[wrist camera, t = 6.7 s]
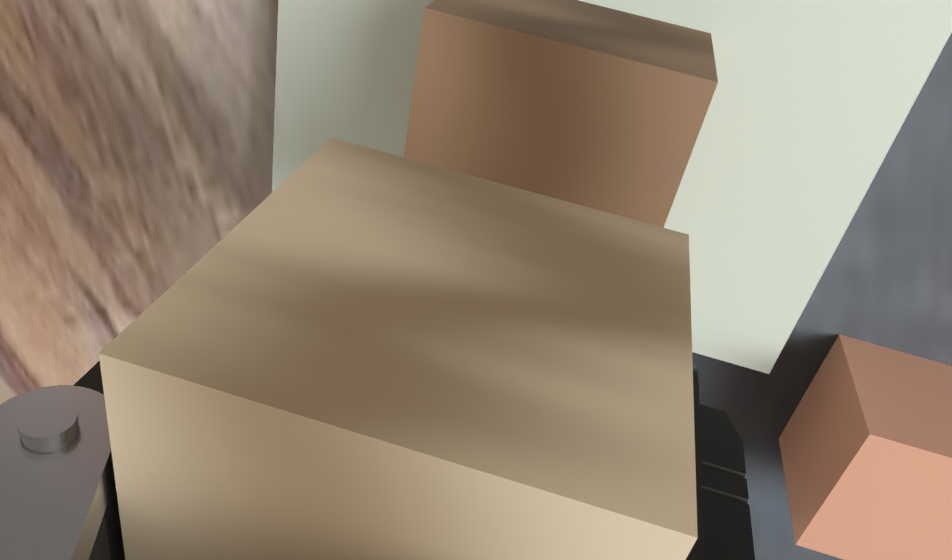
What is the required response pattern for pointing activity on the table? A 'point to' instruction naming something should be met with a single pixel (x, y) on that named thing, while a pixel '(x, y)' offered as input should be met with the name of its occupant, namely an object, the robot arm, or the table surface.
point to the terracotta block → (872, 456)
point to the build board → (718, 143)
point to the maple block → (411, 379)
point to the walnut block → (561, 100)
